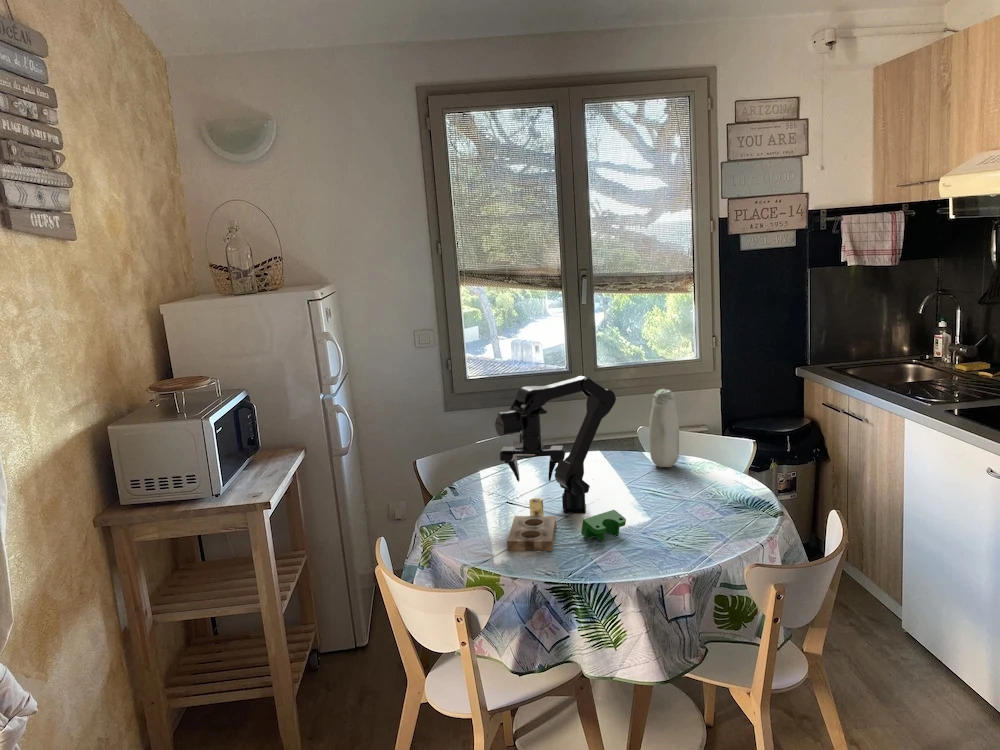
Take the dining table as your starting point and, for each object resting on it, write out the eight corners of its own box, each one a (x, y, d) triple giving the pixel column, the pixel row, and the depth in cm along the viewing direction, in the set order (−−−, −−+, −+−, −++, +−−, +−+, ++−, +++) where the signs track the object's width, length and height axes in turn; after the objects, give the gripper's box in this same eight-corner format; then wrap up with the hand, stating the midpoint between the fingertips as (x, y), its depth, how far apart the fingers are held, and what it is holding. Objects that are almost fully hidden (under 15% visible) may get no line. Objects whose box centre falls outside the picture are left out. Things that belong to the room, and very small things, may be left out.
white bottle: (648, 462, 266) (647, 386, 260) (677, 462, 264) (676, 385, 259) (651, 471, 256) (650, 393, 250) (681, 470, 255) (680, 392, 249)
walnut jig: (556, 525, 214) (555, 516, 214) (552, 551, 197) (551, 541, 196) (515, 525, 216) (514, 515, 215) (507, 551, 199) (507, 541, 198)
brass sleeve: (544, 516, 221) (543, 497, 220) (543, 522, 217) (542, 502, 216) (531, 516, 222) (530, 497, 221) (529, 522, 218) (528, 502, 217)
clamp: (598, 556, 203) (591, 534, 198) (584, 544, 208) (578, 522, 202) (630, 531, 207) (625, 509, 202) (617, 520, 211) (611, 498, 206)
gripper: (565, 422, 221) (567, 471, 224) (503, 423, 224) (506, 472, 227) (562, 432, 210) (565, 484, 213) (497, 433, 213) (501, 484, 216)
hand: (534, 481), depth 218 cm, fingers open, 9 cm apart
